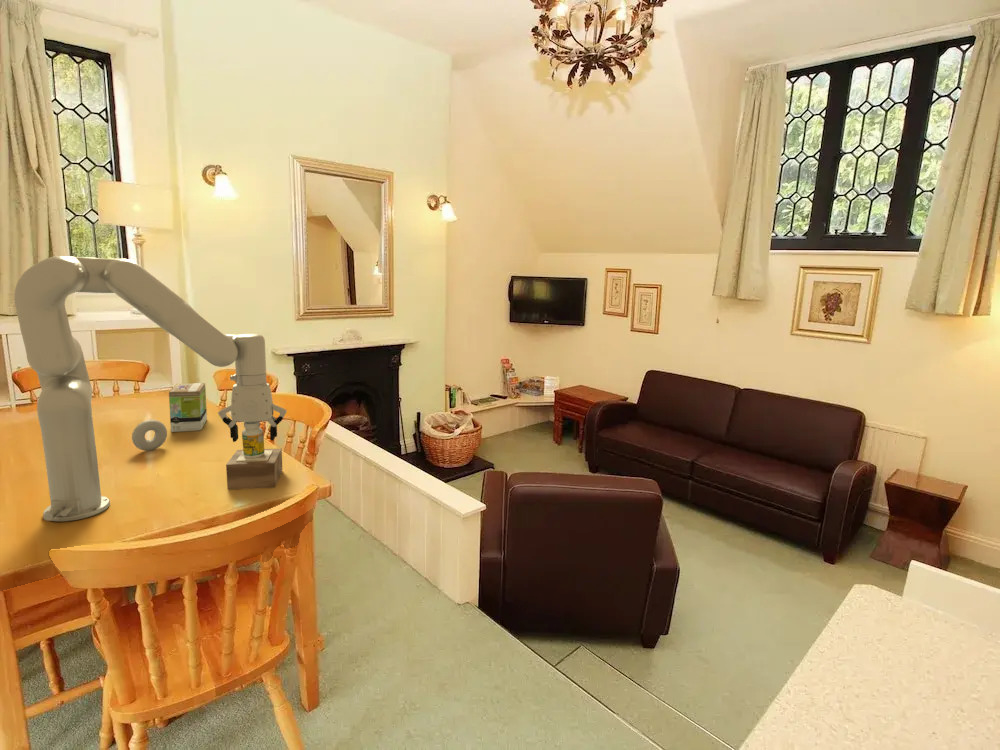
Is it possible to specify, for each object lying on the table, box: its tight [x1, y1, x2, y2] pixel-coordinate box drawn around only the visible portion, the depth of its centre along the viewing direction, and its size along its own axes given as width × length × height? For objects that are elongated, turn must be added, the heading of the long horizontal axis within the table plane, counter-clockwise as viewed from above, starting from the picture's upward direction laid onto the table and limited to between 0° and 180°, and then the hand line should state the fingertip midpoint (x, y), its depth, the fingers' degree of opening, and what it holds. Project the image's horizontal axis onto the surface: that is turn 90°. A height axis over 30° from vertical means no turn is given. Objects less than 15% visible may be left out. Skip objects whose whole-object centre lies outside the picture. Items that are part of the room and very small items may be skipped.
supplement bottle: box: [241, 422, 265, 458], centre depth 150 cm, size 5×5×10 cm
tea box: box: [168, 382, 208, 433], centre depth 198 cm, size 15×10×15 cm, turn 22°
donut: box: [131, 419, 168, 452], centre depth 172 cm, size 10×4×10 cm, turn 146°
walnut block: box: [225, 448, 283, 490], centre depth 152 cm, size 12×12×7 cm
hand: (254, 439), depth 151 cm, fingers open, 9 cm apart
